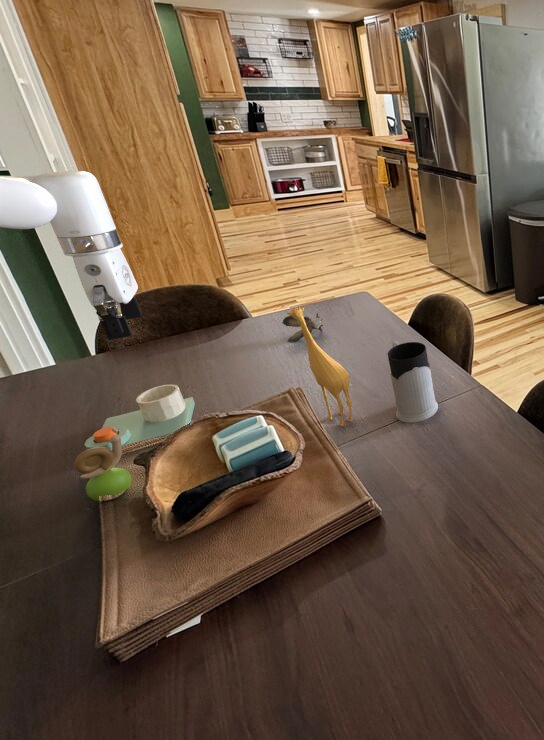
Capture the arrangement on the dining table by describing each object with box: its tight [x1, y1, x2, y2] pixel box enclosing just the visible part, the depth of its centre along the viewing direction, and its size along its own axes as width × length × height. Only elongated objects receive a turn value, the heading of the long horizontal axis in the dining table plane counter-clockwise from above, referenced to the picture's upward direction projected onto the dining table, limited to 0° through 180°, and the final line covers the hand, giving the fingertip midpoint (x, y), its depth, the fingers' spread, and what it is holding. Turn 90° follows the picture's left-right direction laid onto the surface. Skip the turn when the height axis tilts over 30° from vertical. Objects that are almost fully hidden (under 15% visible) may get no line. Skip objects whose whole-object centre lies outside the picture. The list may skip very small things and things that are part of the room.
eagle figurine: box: [281, 312, 324, 343], centre depth 134 cm, size 8×7×9 cm
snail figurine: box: [73, 428, 133, 502], centre depth 80 cm, size 5×6×12 cm
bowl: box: [135, 384, 186, 423], centre depth 99 cm, size 7×7×5 cm
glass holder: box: [387, 340, 439, 424], centre depth 103 cm, size 9×14×15 cm, turn 39°
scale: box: [83, 396, 196, 450], centre depth 96 cm, size 14×14×4 cm
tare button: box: [92, 427, 116, 443], centre depth 90 cm, size 3×3×2 cm
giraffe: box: [286, 305, 354, 427], centre depth 97 cm, size 16×4×25 cm, turn 56°
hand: (126, 327), depth 91 cm, fingers open, 9 cm apart
